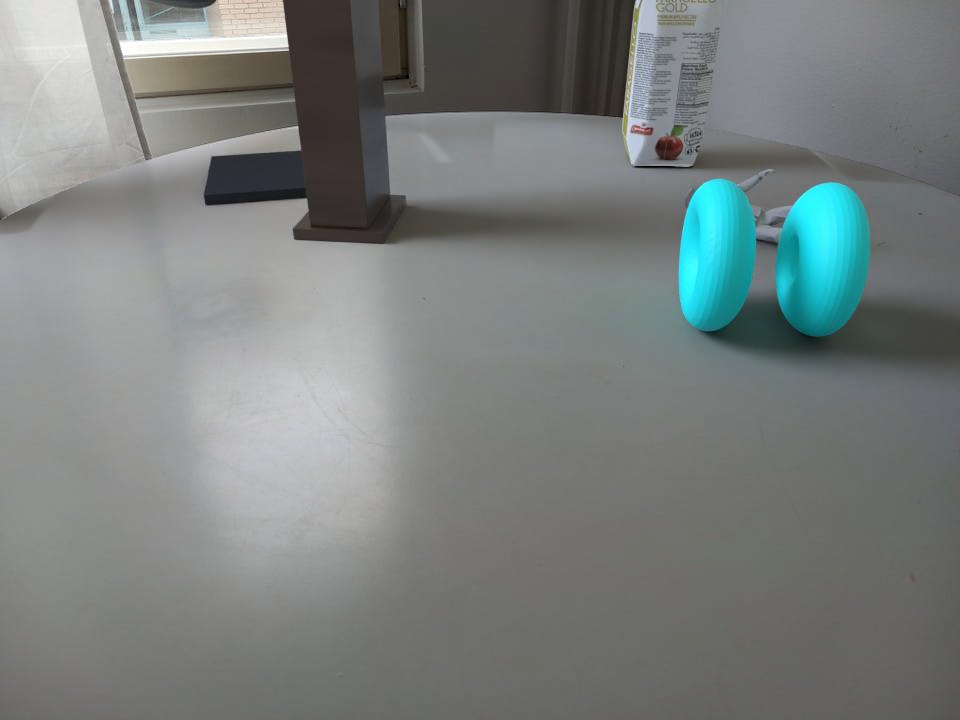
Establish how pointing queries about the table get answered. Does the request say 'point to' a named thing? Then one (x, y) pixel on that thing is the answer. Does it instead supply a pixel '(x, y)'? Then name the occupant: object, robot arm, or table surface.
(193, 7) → the robot arm
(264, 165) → the mat
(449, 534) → the table surface
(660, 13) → the juice carton
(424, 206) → the table surface
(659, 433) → the table surface
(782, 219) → the soldier figure
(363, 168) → the plinth
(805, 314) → the donuts
